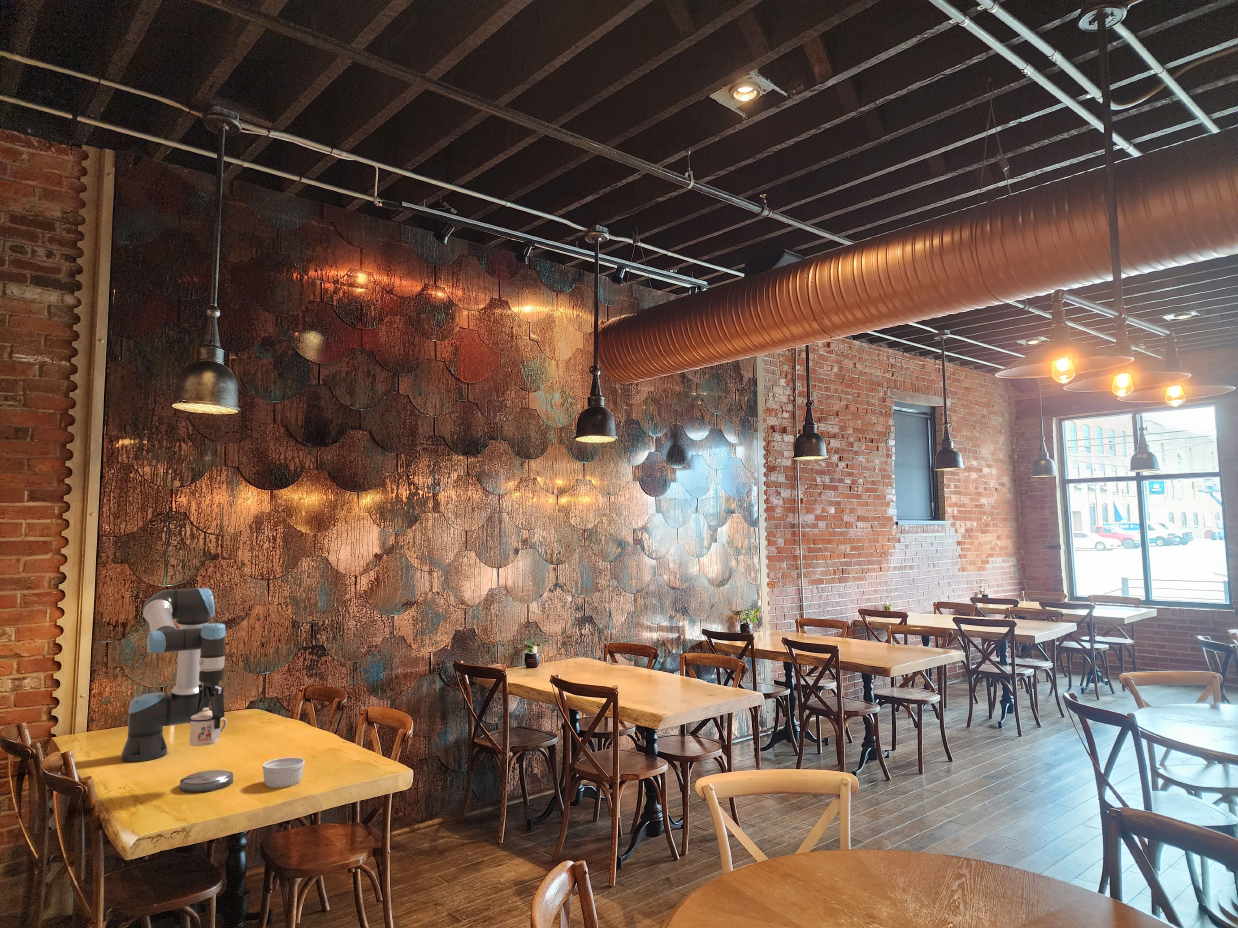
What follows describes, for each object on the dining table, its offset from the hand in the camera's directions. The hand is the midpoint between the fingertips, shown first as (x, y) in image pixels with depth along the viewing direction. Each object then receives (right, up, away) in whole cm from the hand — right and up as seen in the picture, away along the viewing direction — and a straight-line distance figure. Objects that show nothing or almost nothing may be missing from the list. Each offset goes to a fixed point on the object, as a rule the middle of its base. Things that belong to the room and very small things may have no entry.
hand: (208, 735), depth 258 cm
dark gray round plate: (0, -16, -2) cm, 16 cm away
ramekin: (+26, -16, 0) cm, 30 cm away
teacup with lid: (0, -2, 0) cm, 2 cm away
